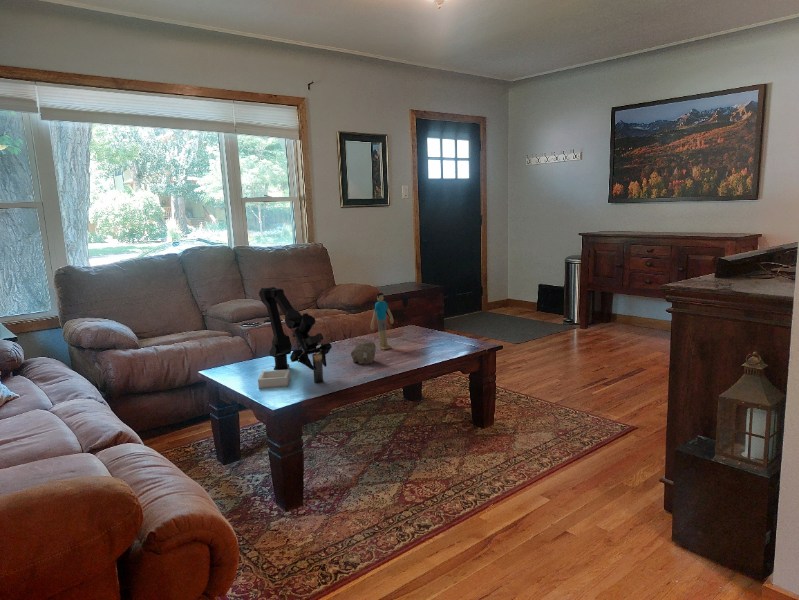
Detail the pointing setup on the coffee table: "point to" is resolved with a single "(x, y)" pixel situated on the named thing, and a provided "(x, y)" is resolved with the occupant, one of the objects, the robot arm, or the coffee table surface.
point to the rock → (364, 353)
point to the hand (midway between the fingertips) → (319, 367)
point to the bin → (274, 379)
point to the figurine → (381, 320)
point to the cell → (317, 367)
